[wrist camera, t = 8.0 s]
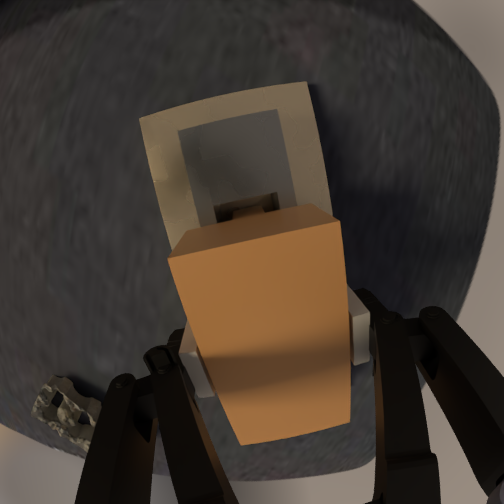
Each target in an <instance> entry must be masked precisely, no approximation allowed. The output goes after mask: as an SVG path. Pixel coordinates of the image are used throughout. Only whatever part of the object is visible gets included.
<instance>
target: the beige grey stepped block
mask: <svg viewBox="0 0 504 504" xmlns="http://www.w3.org/2000/svg"><path fill="white" fill-rule="evenodd" d="M139 120H140V125H141V130H142V134H143V139H144V144H145V148H146V153H147V157H148V161H149V166H150V170H151V174H152V178H153V182H154V186H155V190H156V194H157V198H158V202H159V206H160V209H161V213H162V217H163V220H164V224H165V227H166V231H167V234H168V238H169V241H170V245H171V248H172V251H173V249H174V248H175V246H176V245H177V244H178V242H179V241H180V239H181V238H182V236H183V235H184V233H185V232H186V231H187V230H191V229H195V228H199V227H204V226H208V225H212V224H217V223H221V222H225V221H230V220H232V217H233V211H235V210H240V209H244V208H249V207H253V206H258V205H261V206H262V208H263V210H264V212H265V213H266V212H271V211H276V210H280V209H285V208H290V207H295V206H300V205H305V204H310V203H312V204H313V205H315V206H317V207H318V208H320V209H322V210H323V211H325V212H326V213H328V214H330V215H331V216H333V213H332V207H331V200H330V194H329V188H328V182H327V176H326V170H325V165H324V159H323V154H322V149H321V144H320V139H319V134H318V129H317V124H316V120H315V115H314V111H313V106H312V102H311V98H310V94H309V90H308V86H307V82H297V83H289V84H281V85H274V86H268V87H262V88H256V89H250V90H245V91H240V92H235V93H230V94H225V95H221V96H216V97H212V98H208V99H204V100H200V101H196V102H192V103H188V104H184V105H181V106H177V107H174V108H171V109H167V110H164V111H161V112H158V113H154V114H151V115H148V116H145V117H142V118H139Z"/></svg>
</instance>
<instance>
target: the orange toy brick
mask: <svg viewBox="0 0 504 504" xmlns="http://www.w3.org/2000/svg"><path fill="white" fill-rule="evenodd" d="M168 262H169V265H170V269H171V272H172V275H173V278H174V281H175V284H176V287H177V290H178V293H179V296H180V299H181V302H182V304H183V307H184V310H185V313H186V316H187V318H188V321H189V324H190V327H191V329H192V332H193V335H194V337H195V340H196V343H197V345H198V348H199V350H200V353H201V356H202V358H203V361H204V363H205V366H206V368H207V370H208V373H209V375H210V378H211V380H212V383H213V385H214V387H215V390H216V392H217V394H218V397H219V399H220V401H221V403H222V406H223V408H224V410H225V412H226V415H227V417H228V419H229V421H230V423H231V425H232V428H233V430H234V432H235V434H236V436H237V438H238V440H239V442H240V444H241V445H247V444H254V443H261V442H267V441H272V440H278V439H283V438H288V437H293V436H298V435H302V434H307V433H311V432H315V431H319V430H323V429H327V428H330V427H334V426H338V425H341V424H344V423H348V422H350V395H351V367H350V331H349V311H348V296H347V283H346V271H345V261H344V251H343V242H342V234H341V226H340V221H339V220H338V219H336V218H334V217H333V216H331V215H330V214H328V213H326V212H325V211H323V210H322V209H320V208H318V207H317V206H315V205H313V204H312V203H310V204H305V205H300V206H295V207H290V208H285V209H280V210H276V211H271V212H266V213H265V212H264V210H263V208H262V206H261V205H258V206H253V207H249V208H244V209H240V210H235V211H233V217H232V220H230V221H225V222H221V223H217V224H212V225H208V226H204V227H199V228H195V229H191V230H187V231H186V232H185V233H184V235H183V236H182V238H181V239H180V241H179V242H178V244H177V245H176V246H175V248H174V249H173V251H172V252H171V254H170V256H169V257H168Z"/></svg>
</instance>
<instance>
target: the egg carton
mask: <svg viewBox="0 0 504 504" xmlns="http://www.w3.org/2000/svg"><path fill="white" fill-rule="evenodd" d="M57 390H58V391H59V392H60V393H62V394H63V395H64V397H63V398H64V399H63V401H62V403H61V405H60V407H59V408H57V407H56V406H55V405H53V404H52V403H51V400H52V398H53V397H54V395H55V394H56V392H57ZM101 408H102V406H101V402H100V401H98V400H96V399H94V398H93V397H91V398H86V397H84V396H82V395H80V394H79V393H78V392H77V391H76V390H75V389H74V387H73V382H72V381H70V380H69V379H68V378H66V377H63V378H59V377H57V376H55V375H52V377H51V378H50V380H49V381H48V383H47V384H46V383H45V384H44V385H43V387H42V389H41V391H40V394H39V395H38V397H37V400H36V402H35V404H34V406H33V409H32V413H31V416H32V417H34V418H37V419H39V420H41V421H43V423H46V424H49V425H50V427H51V428H52V429H53V430H54V429H56V430H58V432H59V435H60V436H62V437H65V438H67V439H68V440H70V441H71V442H73V443H74V444H76V445H78V446H80V447H82V448H83V449H84V450H85V451H86V452H87V453H88V449H89V446H90V442H91V439H92V436H93V432H94V429H95V426H96V423H97V420H98V417H99V414H100V411H101ZM82 411H84V412H85V411H86V412H87V414H88V415H89V417H90V422H91V425H92V426H91V425H87V424H85V425H82V424H80V423H79V422H77V421H78V419H79V417H80V415H81V413H82Z"/></svg>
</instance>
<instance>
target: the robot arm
mask: <svg viewBox="0 0 504 504" xmlns="http://www.w3.org/2000/svg"><path fill="white" fill-rule="evenodd" d="M347 296H348V311H349V331H350V359H351V360H352V362H353V364H354V366H355V365H358V364H361V363H365V362H368V361H369V358H370V353H371V355H372V356H373V376H374V386H375V409H376V463H375V465H376V466H375V484H374V485H375V486H374V494H373V499H372V501H371V502H368V503H365V504H441V496H440V480H439V469H438V461H437V456H436V454H434V453H432V452H431V450H430V443H429V435H428V428H427V421H426V415H425V409H424V404H423V398H422V393H421V388H420V383H419V379H418V374H417V370H416V365H417V367H418V369H419V370H420V372H421V374H422V375H423V377H424V379H425V380H426V382H427V384H428V386H429V387H430V389H431V391H432V393H433V394H434V396H435V398H436V400H437V401H438V403H439V405H440V407H441V409H442V410H443V412H444V414H445V416H446V418H447V420H448V422H449V424H450V425H451V427H452V429H453V431H454V433H455V435H456V437H457V439H458V441H459V443H460V445H461V447H462V449H463V451H464V453H465V455H466V457H467V459H468V462H469V464H470V466H471V468H472V470H473V473H474V475H475V477H476V479H477V481H478V483H479V484H480V486H481V488H482V489H483V490H484V492H485V493H486V495H487V496H488V497H489V498H488V500H487V504H504V377H503V376H502V375H501V373H500V372H499V371H498V370H497V368H496V367H495V366H494V365H493V364H492V363H491V361H490V360H489V359H488V358H487V356H486V355H485V354H484V353H483V352H482V351H481V350H480V348H479V347H478V346H477V345H476V344H475V343H474V342H473V340H472V339H470V337H469V336H468V335H467V334H466V333H465V332H464V330H463V329H462V328H461V327H460V326H459V325H458V324H457V323H456V322H455V321H454V320H453V319H452V318H451V316H450V315H449V314H448V313H447V312H446V311H445V310H443V309H442V308H440V307H437V306H429V307H425V308H423V309H422V310H421V311H420V313H419V318H411V319H403V317H402V316H401V315H400V314H399V313H397V312H392V311H388V310H387V309H386V308H385V307H384V306H383V305H382V304H381V302H380V301H378V299H377V298H376V297H375V296H374V295H373V294H372V293H371V292H370V291H368V290H366V289H364V288H361V289H358V290H354V291H352V290H351V288H350V287H349V286H348V285H347ZM143 359H144V361H145V363H146V365H147V367H148V369H149V371H150V373H151V375H149V376H146V377H143V378H140V379H137V380H136V379H135V377H134V376H133V375H132V374H130V373H125V374H121V375H118V376H117V377H115V378H114V379H113V380H112V381H111V383H110V385H109V388H108V390H107V393H106V396H105V399H104V402H103V405H102V408H101V411H100V414H99V417H98V420H97V423H96V426H95V429H94V432H93V436H92V439H91V442H90V446H89V449H88V453H87V456H86V460H85V463H84V467H83V471H82V475H81V479H80V483H79V487H78V491H77V495H76V500H75V504H150V496H151V483H152V472H153V461H154V451H155V442H156V433H157V425H158V422H159V427H160V432H161V437H162V442H163V446H164V451H165V455H166V459H167V463H168V467H169V471H170V475H171V479H172V483H173V486H174V490H175V493H176V497H177V500H178V504H239V503H238V500H237V498H236V496H235V494H234V492H233V490H232V488H231V486H230V483H229V481H228V479H227V477H226V474H225V472H224V470H223V468H222V465H221V463H220V461H219V458H218V456H217V454H216V451H215V449H214V446H213V444H212V441H211V439H210V436H209V434H208V431H207V429H206V426H205V423H204V421H203V418H202V415H201V413H200V410H199V407H198V404H197V402H196V400H195V398H194V394H195V391H196V393H197V395H198V397H199V398H203V397H211V396H215V387H214V385H213V383H212V380H211V378H210V375H209V373H208V370H207V368H206V366H205V363H204V361H203V358H202V356H201V353H200V350H199V348H198V345H197V343H196V340H195V337H194V335H193V332H192V329H191V327H190V324H189V321H188V320H187V323H186V327H185V328H183V329H177V330H175V331H174V332H173V333H172V334H171V335H170V337H169V340H168V343H167V346H166V345H160V346H156V347H153V348H151V349H150V350H148V351H147V352H146V353H145V355H144V357H143ZM415 364H416V365H415Z"/></svg>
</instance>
